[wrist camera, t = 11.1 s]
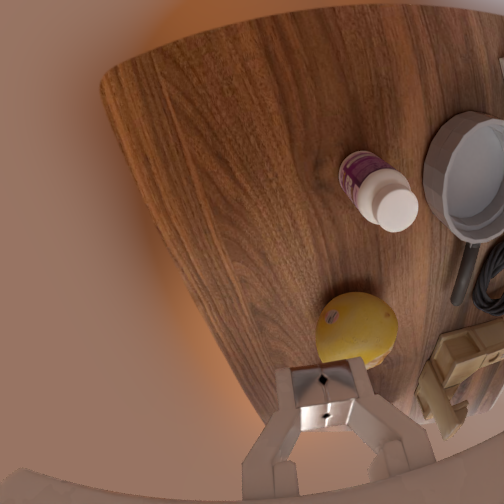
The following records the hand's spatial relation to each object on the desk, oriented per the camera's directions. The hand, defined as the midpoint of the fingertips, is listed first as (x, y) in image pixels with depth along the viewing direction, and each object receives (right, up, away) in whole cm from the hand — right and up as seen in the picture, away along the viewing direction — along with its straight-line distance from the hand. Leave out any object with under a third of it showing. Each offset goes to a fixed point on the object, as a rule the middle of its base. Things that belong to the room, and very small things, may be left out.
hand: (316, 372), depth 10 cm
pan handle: (+26, +2, +26) cm, 37 cm away
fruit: (+11, -3, +32) cm, 34 cm away
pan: (+25, +14, +21) cm, 35 cm away
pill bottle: (+9, +13, +22) cm, 27 cm away
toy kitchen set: (+39, -17, +41) cm, 59 cm away
